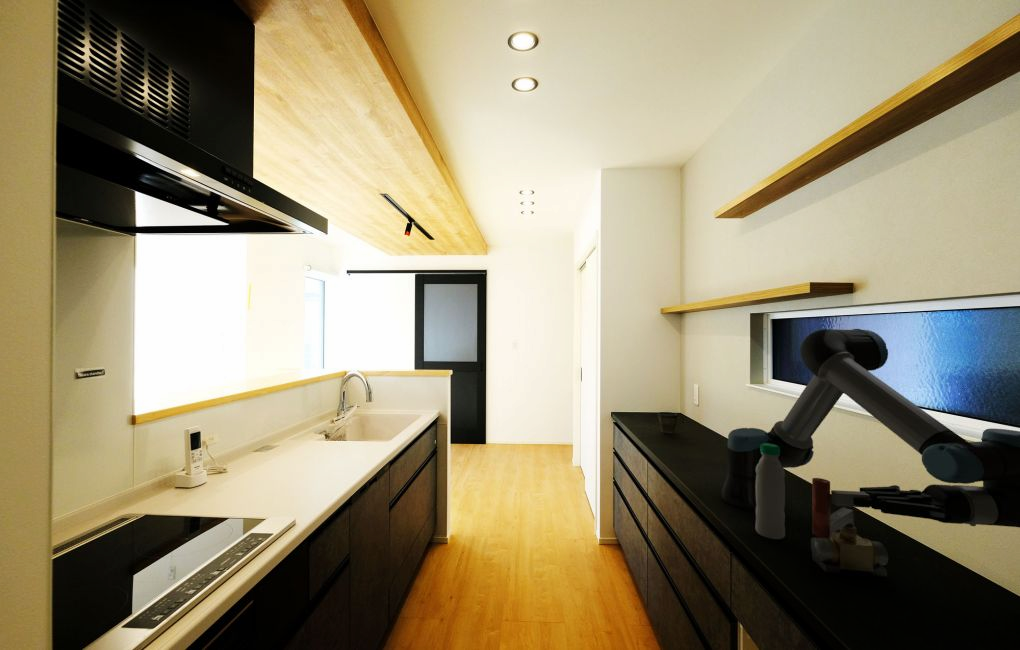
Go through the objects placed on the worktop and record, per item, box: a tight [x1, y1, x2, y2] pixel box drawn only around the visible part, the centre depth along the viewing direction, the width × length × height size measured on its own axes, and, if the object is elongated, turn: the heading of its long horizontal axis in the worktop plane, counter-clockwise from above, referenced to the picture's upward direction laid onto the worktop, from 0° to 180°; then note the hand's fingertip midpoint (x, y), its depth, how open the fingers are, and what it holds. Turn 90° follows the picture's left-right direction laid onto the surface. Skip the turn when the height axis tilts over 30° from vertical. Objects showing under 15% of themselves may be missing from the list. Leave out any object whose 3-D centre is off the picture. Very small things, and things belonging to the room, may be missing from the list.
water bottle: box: [754, 443, 786, 540], centre depth 119 cm, size 7×7×25 cm
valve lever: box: [811, 477, 855, 538], centre depth 98 cm, size 18×3×14 cm, turn 123°
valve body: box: [810, 525, 889, 578], centre depth 102 cm, size 14×6×10 cm, turn 82°
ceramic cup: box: [657, 411, 683, 434], centre depth 232 cm, size 13×10×10 cm
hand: (833, 497), depth 92 cm, fingers closed
